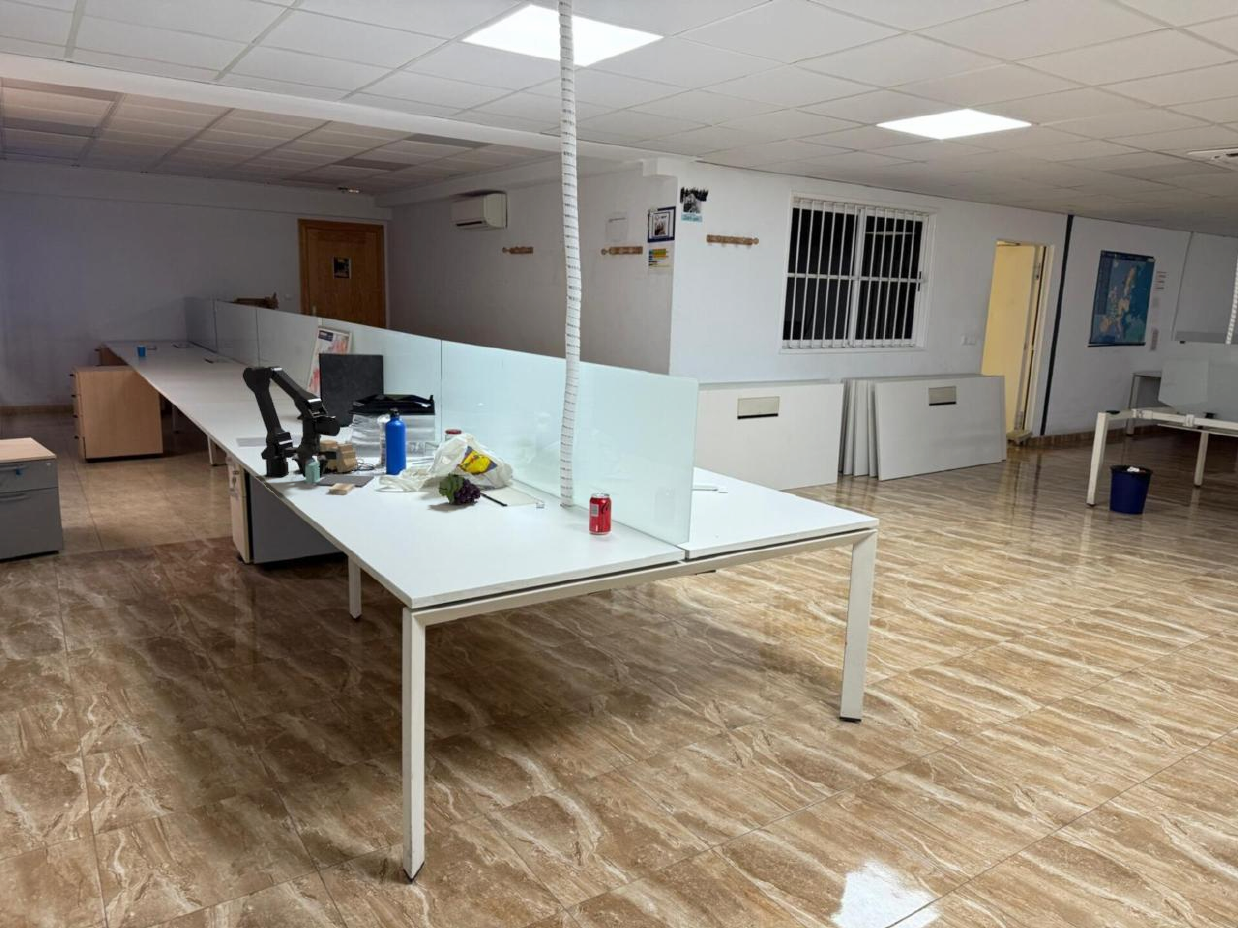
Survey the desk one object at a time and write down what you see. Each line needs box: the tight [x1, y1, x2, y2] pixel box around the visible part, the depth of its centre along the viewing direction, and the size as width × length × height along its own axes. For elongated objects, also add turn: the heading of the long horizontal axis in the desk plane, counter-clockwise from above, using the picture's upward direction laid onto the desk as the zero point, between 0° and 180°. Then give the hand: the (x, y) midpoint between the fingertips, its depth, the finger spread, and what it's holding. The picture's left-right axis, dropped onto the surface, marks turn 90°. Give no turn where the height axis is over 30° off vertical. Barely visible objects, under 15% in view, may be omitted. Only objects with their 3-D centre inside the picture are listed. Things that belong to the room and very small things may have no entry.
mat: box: [314, 473, 375, 488], centre depth 304 cm, size 16×14×1 cm
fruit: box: [437, 472, 481, 505], centre depth 282 cm, size 10×11×15 cm
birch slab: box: [328, 483, 356, 495], centre depth 291 cm, size 6×8×2 cm
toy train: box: [316, 439, 359, 473], centre depth 321 cm, size 6×17×10 cm, turn 57°
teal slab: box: [305, 461, 321, 485], centre depth 303 cm, size 2×8×6 cm, turn 179°
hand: (312, 477), depth 303 cm, fingers open, 5 cm apart
